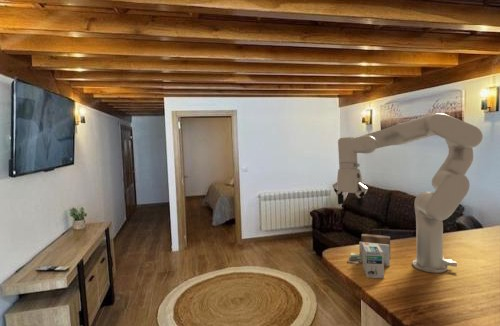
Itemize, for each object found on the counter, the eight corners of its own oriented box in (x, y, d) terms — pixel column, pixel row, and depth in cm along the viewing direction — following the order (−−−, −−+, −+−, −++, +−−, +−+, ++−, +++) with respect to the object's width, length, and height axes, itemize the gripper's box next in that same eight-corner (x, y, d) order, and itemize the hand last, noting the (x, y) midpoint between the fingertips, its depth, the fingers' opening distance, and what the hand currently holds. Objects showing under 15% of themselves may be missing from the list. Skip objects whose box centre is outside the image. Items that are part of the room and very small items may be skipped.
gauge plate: (389, 265, 129) (389, 244, 128) (389, 266, 128) (389, 245, 127) (349, 259, 137) (349, 240, 136) (349, 260, 135) (348, 241, 135)
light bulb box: (384, 278, 118) (384, 252, 117) (366, 278, 119) (365, 251, 118) (378, 267, 128) (378, 242, 127) (362, 266, 130) (361, 242, 129)
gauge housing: (390, 257, 138) (390, 236, 137) (389, 268, 127) (389, 245, 126) (351, 253, 145) (351, 232, 144) (347, 262, 134) (347, 240, 134)
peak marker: (356, 258, 136) (356, 257, 136) (356, 259, 135) (356, 257, 135) (351, 258, 137) (351, 256, 137) (350, 258, 136) (350, 257, 136)
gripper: (371, 165, 124) (373, 206, 126) (337, 164, 139) (339, 201, 140) (360, 167, 120) (362, 209, 121) (326, 166, 134) (328, 204, 136)
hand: (350, 205), depth 131 cm, fingers open, 9 cm apart
